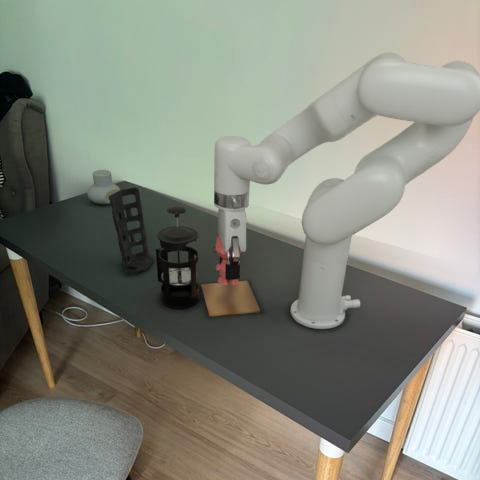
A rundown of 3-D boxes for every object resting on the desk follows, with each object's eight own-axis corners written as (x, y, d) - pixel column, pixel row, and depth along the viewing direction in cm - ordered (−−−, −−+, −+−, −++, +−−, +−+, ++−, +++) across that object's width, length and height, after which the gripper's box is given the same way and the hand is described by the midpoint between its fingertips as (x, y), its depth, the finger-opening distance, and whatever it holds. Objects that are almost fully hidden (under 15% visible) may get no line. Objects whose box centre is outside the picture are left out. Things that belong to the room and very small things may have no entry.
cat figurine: (239, 273, 125) (241, 228, 118) (246, 287, 119) (249, 241, 112) (211, 275, 123) (211, 230, 116) (217, 290, 118) (217, 243, 111)
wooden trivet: (247, 282, 130) (247, 280, 130) (260, 312, 119) (260, 310, 119) (200, 285, 128) (200, 284, 128) (209, 316, 117) (209, 314, 116)
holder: (143, 277, 130) (128, 201, 119) (115, 276, 132) (98, 201, 121) (157, 258, 139) (145, 186, 128) (131, 257, 141) (117, 186, 130)
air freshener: (108, 194, 178) (105, 165, 172) (125, 200, 174) (123, 171, 168) (84, 203, 170) (80, 173, 164) (101, 209, 166) (97, 179, 161)
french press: (210, 298, 123) (209, 207, 110) (184, 315, 117) (180, 221, 104) (173, 282, 129) (169, 195, 116) (147, 298, 122) (139, 207, 109)
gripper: (257, 213, 103) (253, 289, 113) (240, 183, 117) (237, 253, 127) (221, 214, 101) (219, 291, 112) (208, 184, 115) (207, 255, 126)
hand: (229, 270), depth 119 cm, fingers closed on cat figurine, 6 cm apart
